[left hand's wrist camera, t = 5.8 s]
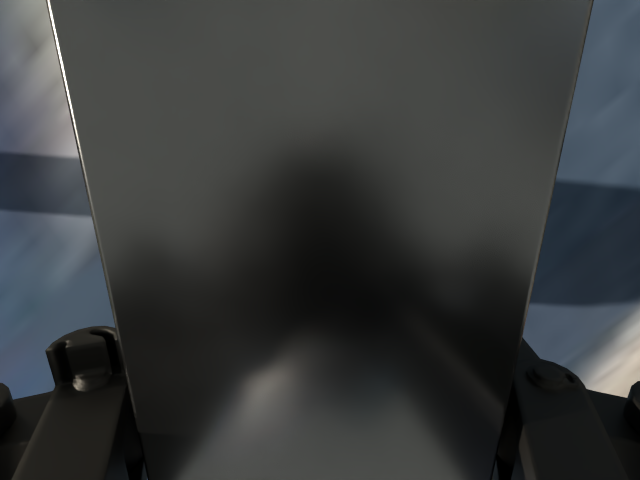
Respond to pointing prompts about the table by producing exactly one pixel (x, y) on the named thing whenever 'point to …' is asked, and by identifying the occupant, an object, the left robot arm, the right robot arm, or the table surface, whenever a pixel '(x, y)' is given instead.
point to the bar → (319, 221)
